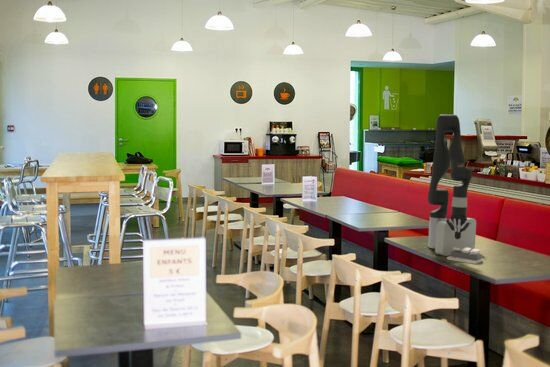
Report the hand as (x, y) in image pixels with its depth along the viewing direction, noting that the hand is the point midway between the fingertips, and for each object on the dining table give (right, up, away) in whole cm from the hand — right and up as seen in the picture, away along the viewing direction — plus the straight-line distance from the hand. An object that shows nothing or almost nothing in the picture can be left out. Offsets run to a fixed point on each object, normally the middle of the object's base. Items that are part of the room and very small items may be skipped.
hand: (457, 239), depth 346 cm
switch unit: (+3, -11, -1) cm, 11 cm away
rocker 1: (+1, -5, +2) cm, 6 cm away
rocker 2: (+4, -6, -1) cm, 7 cm away
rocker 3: (+8, -6, -3) cm, 11 cm away
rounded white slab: (+3, -9, +18) cm, 20 cm away
